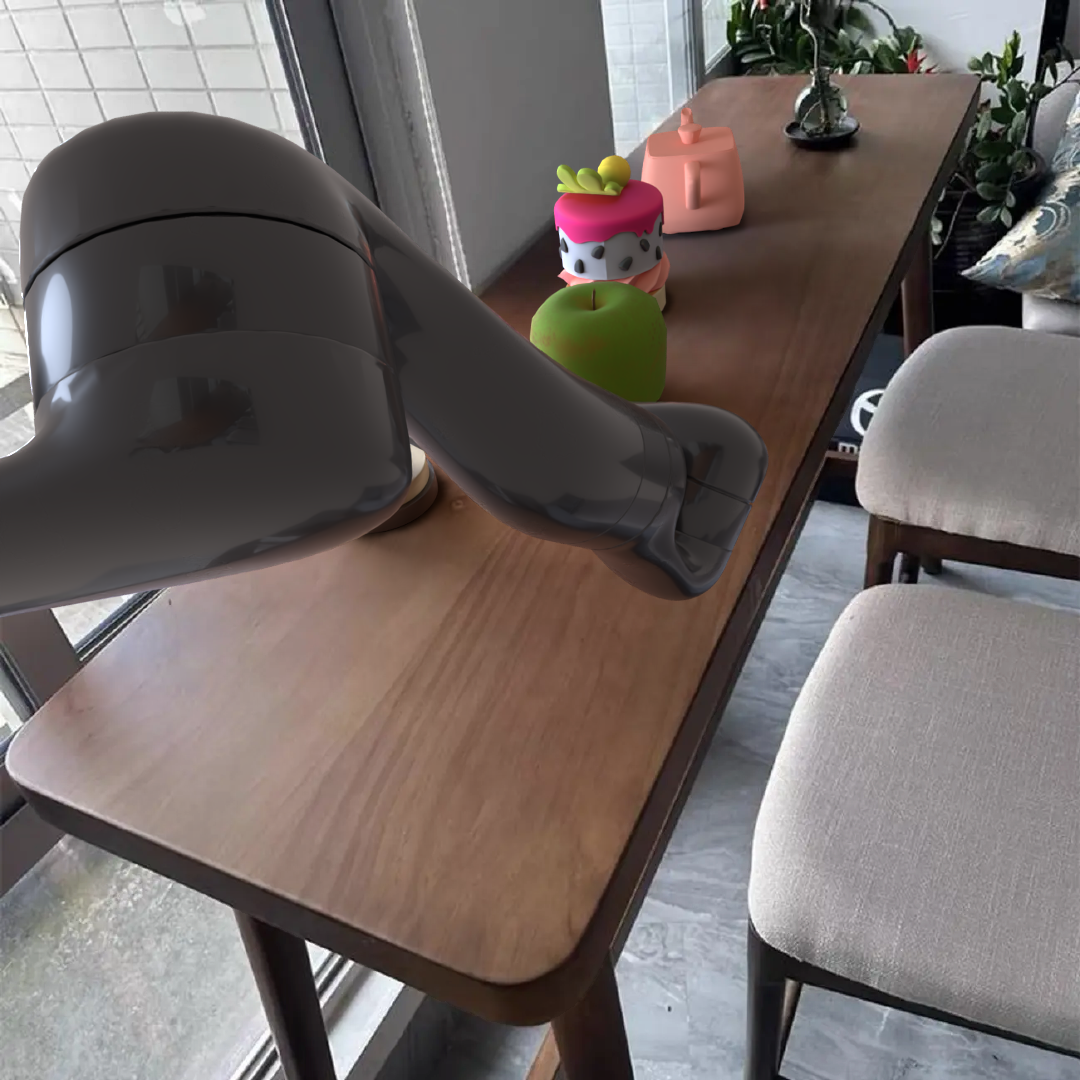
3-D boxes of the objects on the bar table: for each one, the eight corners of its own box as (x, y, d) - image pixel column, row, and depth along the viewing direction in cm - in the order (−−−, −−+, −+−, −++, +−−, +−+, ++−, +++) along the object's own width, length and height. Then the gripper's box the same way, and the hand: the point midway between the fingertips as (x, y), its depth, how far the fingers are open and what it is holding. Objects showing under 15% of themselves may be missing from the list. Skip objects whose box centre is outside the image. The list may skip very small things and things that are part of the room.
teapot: (642, 254, 109) (636, 158, 103) (642, 192, 123) (636, 103, 117) (749, 245, 108) (750, 146, 101) (737, 183, 122) (737, 92, 115)
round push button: (394, 544, 75) (385, 513, 74) (301, 518, 80) (290, 488, 78) (460, 475, 81) (453, 445, 79) (369, 454, 85) (361, 424, 84)
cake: (591, 277, 107) (577, 132, 97) (685, 286, 102) (679, 136, 93) (546, 323, 100) (526, 172, 90) (645, 336, 95) (634, 178, 86)
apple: (680, 374, 89) (675, 258, 82) (653, 443, 81) (645, 322, 75) (560, 368, 93) (546, 256, 86) (524, 434, 85) (505, 317, 78)
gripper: (546, 309, 65) (384, 256, 75) (373, 411, 58) (219, 337, 68) (559, 408, 70) (405, 345, 80) (400, 514, 62) (253, 430, 72)
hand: (320, 342), depth 74 cm, fingers open, 6 cm apart
